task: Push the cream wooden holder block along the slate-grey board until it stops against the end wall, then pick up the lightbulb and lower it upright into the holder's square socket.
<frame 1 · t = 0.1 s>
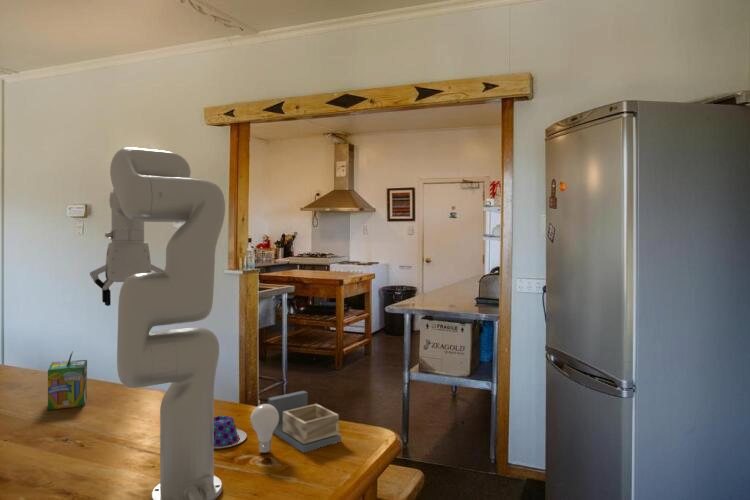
hand: (128, 303, 131), 31 cm above the table, tool pointing down, fingers open, 9 cm apart
lightbulb: (264, 453, 116), on the table
base: (303, 435, 125), on the table
holder: (310, 422, 123), point 4 cm above the table, slide at 0.0 cm
pudding: (221, 441, 123), on the table
chalk box: (67, 404, 147), on the table
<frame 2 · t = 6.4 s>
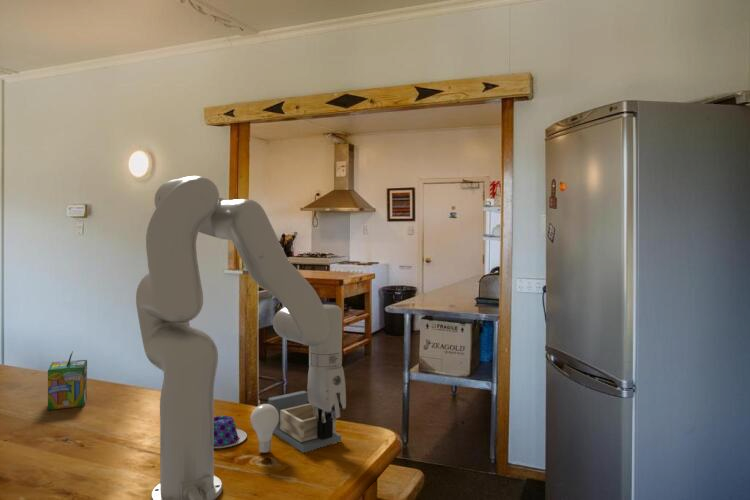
hand: (324, 437, 118), 3 cm above the table, tool pointing down, fingers closed
holder: (307, 421, 124), point 4 cm above the table, slide at 1.2 cm, touching gripper
everything else where it was.
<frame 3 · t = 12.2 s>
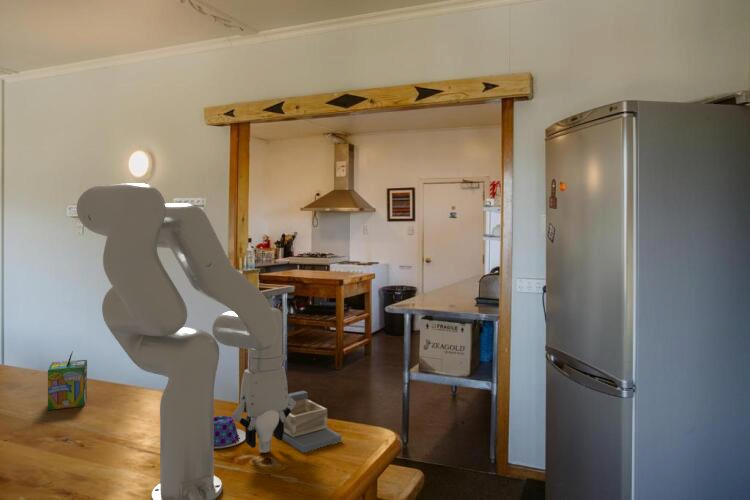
hand: (264, 441, 115), 3 cm above the table, tool pointing down, fingers closed on lightbulb, 6 cm apart
lightbulb: (264, 453, 116), on the table, touching gripper
holder: (299, 416, 127), point 4 cm above the table, slide at 5.0 cm, touching base
when the fingers open (7 cm above the table, at t = 17.2 s): lightbulb drops 1 cm, resting on holder.
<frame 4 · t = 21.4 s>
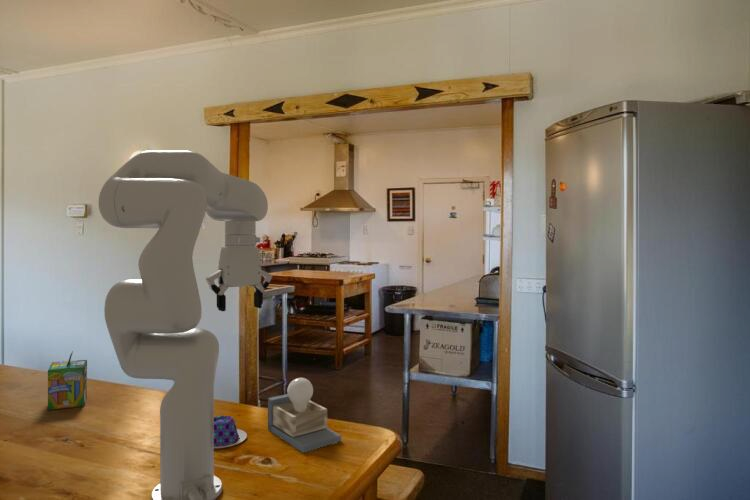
hand: (240, 309, 130), 30 cm above the table, tool pointing down, fingers open, 9 cm apart
lightbulb: (300, 422, 127), point 3 cm above the table, touching holder
holder: (299, 416, 127), point 4 cm above the table, slide at 5.0 cm, touching lightbulb
at the end: holder slide at 5.0 cm; lightbulb 0.1 cm from the holder (horizontally); lightbulb tilted 0° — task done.
